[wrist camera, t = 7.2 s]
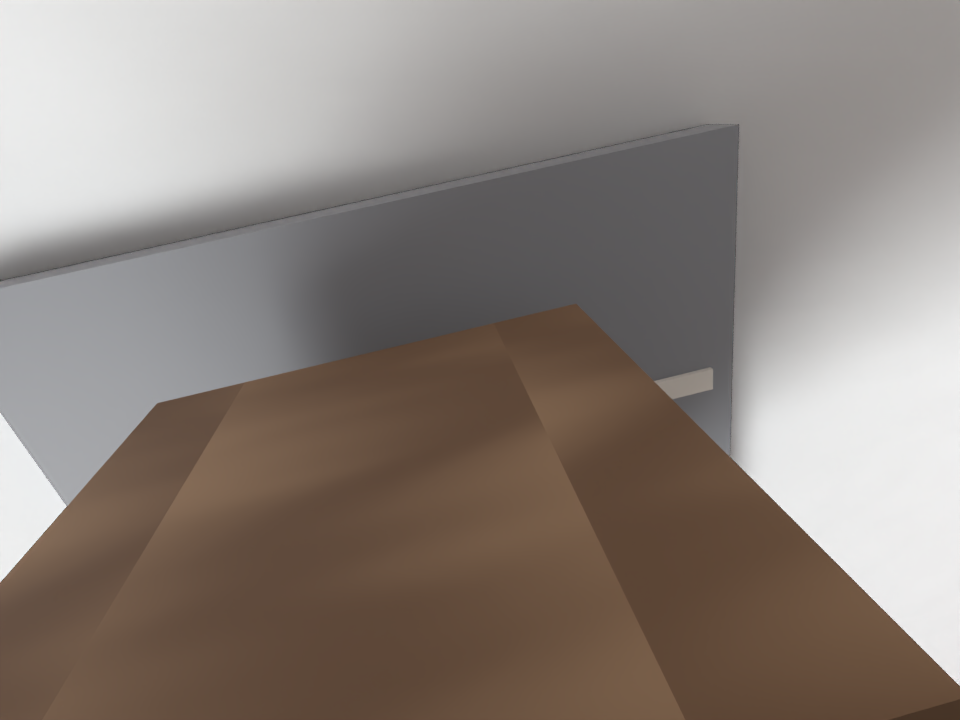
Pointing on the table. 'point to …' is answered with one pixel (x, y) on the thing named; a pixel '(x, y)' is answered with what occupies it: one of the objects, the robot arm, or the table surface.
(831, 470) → the table surface
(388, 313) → the switch plate
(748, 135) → the table surface
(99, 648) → the hollow wooden cube
